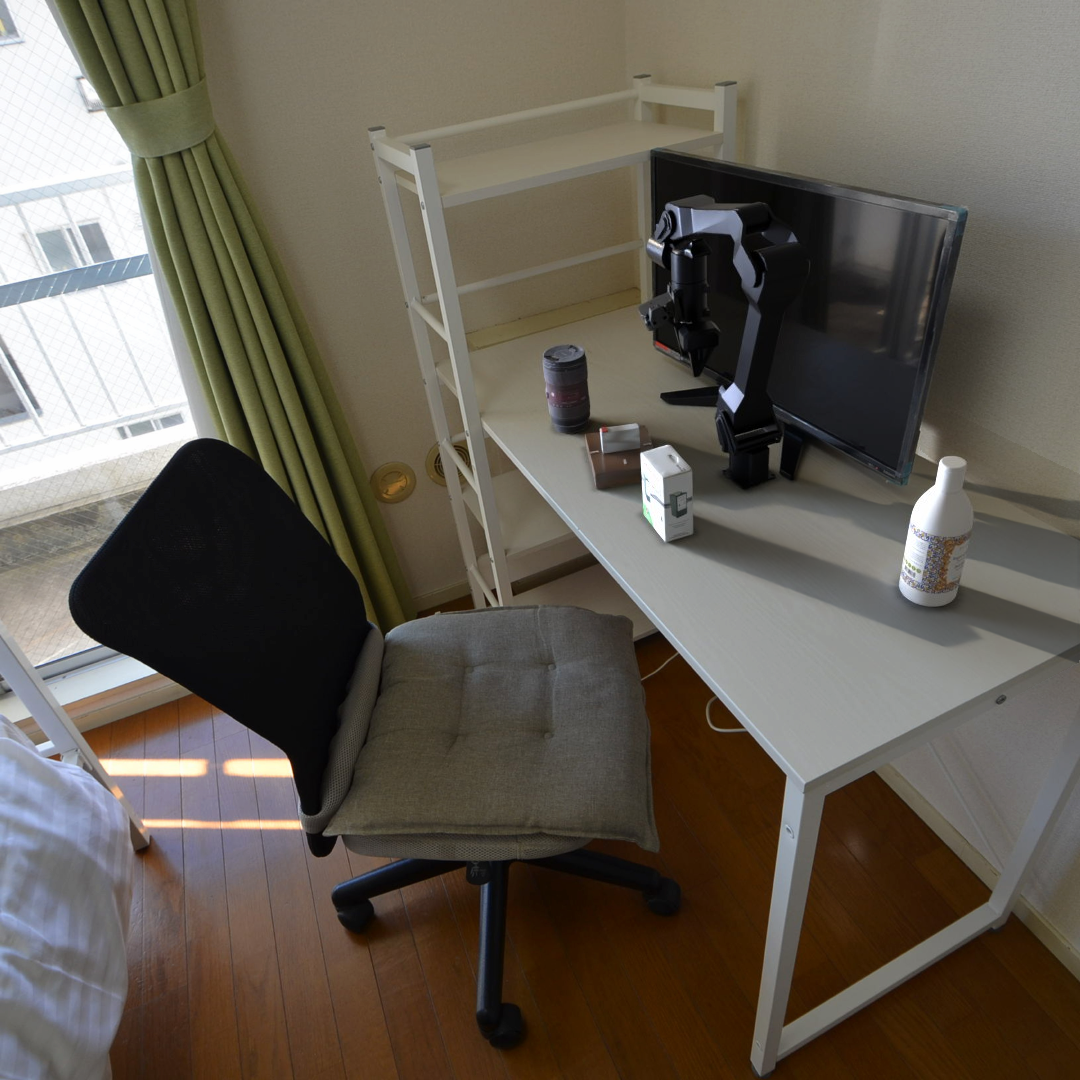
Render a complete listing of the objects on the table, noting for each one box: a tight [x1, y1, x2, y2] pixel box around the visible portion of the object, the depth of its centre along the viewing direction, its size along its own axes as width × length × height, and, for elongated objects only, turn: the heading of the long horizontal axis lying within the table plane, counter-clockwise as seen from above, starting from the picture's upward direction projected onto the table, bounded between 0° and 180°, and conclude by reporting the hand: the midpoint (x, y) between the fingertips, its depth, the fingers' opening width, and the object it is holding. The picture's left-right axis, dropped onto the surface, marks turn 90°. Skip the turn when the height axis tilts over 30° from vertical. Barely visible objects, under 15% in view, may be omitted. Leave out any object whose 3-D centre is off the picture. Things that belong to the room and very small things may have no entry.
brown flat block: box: [584, 424, 654, 490], centre depth 140 cm, size 14×11×3 cm
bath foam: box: [898, 455, 975, 608], centre depth 100 cm, size 7×7×20 cm
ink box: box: [641, 444, 694, 543], centre depth 122 cm, size 9×5×12 cm, turn 18°
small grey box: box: [599, 422, 640, 454], centre depth 138 cm, size 6×2×4 cm, turn 94°
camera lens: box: [542, 343, 591, 434], centre depth 150 cm, size 8×8×15 cm
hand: (690, 365), depth 142 cm, fingers open, 9 cm apart
